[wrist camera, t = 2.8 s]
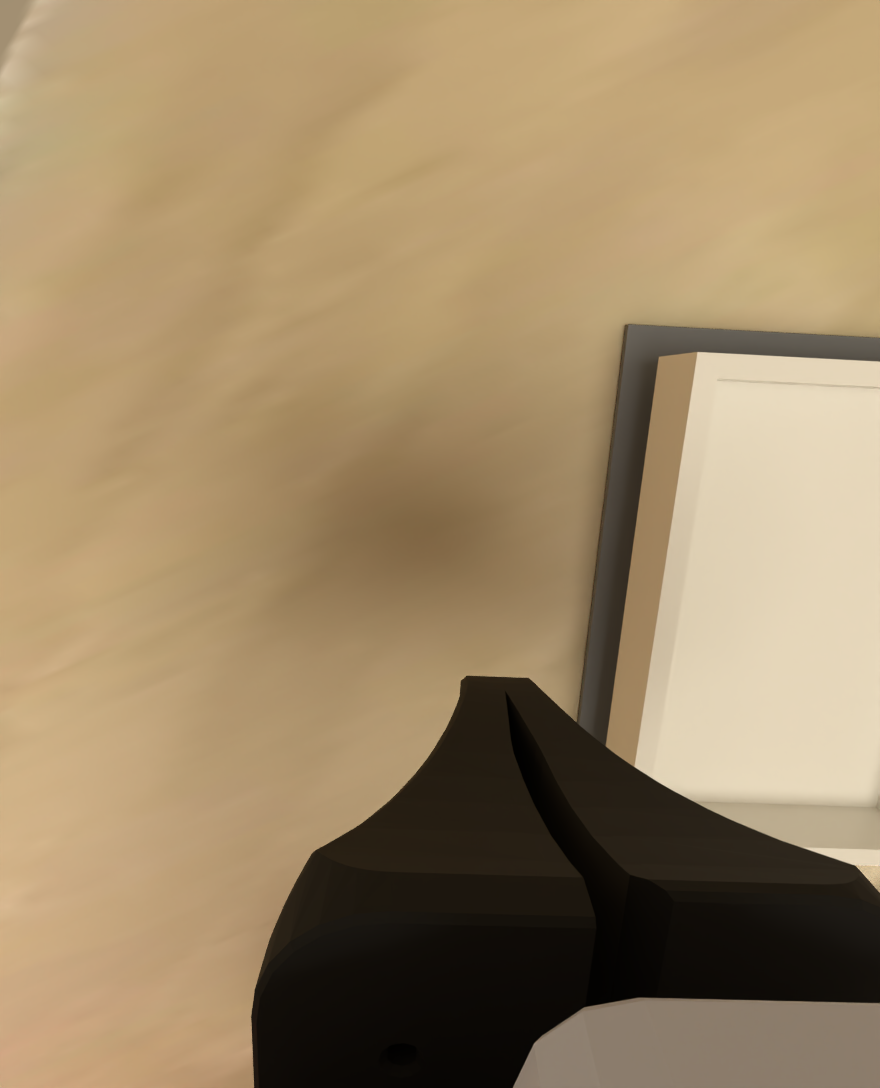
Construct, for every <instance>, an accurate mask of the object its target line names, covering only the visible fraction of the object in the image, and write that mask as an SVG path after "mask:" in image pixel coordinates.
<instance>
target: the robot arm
mask: <svg viewBox="0 0 880 1088" xmlns="http://www.w3.org/2000/svg"><path fill="white" fill-rule="evenodd" d="M251 1020H252V1043H253V1067H254V1088H880V893H879V892H878V891H877V889H876V888H875V887H874V886H873V885H872V884H871V883H870V881H869V880H868V879H867V878H866V877H865V876H864V875H863V874H862V873H861V871H860V870H859V869H858V868H857V867H856V866H855V865H852V864H849V863H846V862H843V861H840V860H837V859H834V858H831V857H828V856H825V855H822V854H819V853H816V852H814V851H811V850H808V849H805V848H802V847H799V846H796V845H793V844H790V843H787V842H784V841H781V840H779V839H776V838H773V837H771V836H769V835H766V834H764V833H761V832H759V831H757V830H754V829H752V828H749V827H747V826H745V825H742V824H740V823H737V822H735V821H733V820H731V819H728V818H726V817H724V816H722V815H720V814H718V813H715V812H713V811H711V810H709V809H707V808H705V807H703V806H701V805H699V804H698V803H696V802H694V801H692V800H690V799H688V798H686V797H684V796H682V795H680V794H678V793H676V792H675V791H673V790H671V789H669V788H668V787H666V786H664V785H662V784H661V783H659V782H657V781H656V780H654V779H653V778H651V777H649V776H648V775H646V774H645V773H643V772H642V771H640V770H638V769H637V768H635V767H634V766H632V765H631V764H629V763H628V762H626V761H625V760H623V759H622V758H621V757H619V756H618V755H616V754H615V753H614V752H612V751H611V750H610V749H609V748H607V747H606V746H605V745H603V744H602V743H601V742H599V741H598V740H597V739H596V738H594V737H593V736H592V735H591V734H589V733H588V732H587V731H586V730H585V729H583V728H582V727H581V726H580V725H579V724H578V723H577V722H575V721H574V720H573V719H572V718H571V717H570V716H569V715H568V714H566V713H565V712H564V711H563V710H562V709H561V708H560V707H559V706H558V705H557V704H556V703H555V702H554V701H553V700H551V699H550V698H549V697H548V696H547V695H546V694H545V693H544V692H543V691H542V690H541V689H540V688H539V687H538V686H537V685H536V684H535V683H534V682H532V681H531V680H530V679H529V678H511V677H485V676H466V677H465V678H464V679H463V680H461V688H460V697H459V700H458V703H457V706H456V708H455V711H454V713H453V715H452V717H451V720H450V722H449V724H448V726H447V728H446V730H445V731H444V733H443V735H442V736H441V738H440V740H439V741H438V743H437V745H436V746H435V748H434V750H433V751H432V752H431V754H430V755H429V757H428V758H427V760H426V761H425V762H424V764H423V765H422V766H421V767H420V769H419V770H418V771H417V772H416V774H415V775H414V776H413V777H412V778H411V779H410V780H409V781H408V782H407V784H406V785H405V786H404V787H403V788H402V789H401V790H400V791H399V792H398V793H397V794H396V795H395V796H394V797H393V798H392V799H391V800H390V801H389V802H388V803H387V804H385V805H384V806H383V807H382V808H380V809H379V810H378V811H377V812H375V813H374V814H373V815H372V816H371V817H369V818H368V819H367V820H366V821H364V822H363V823H362V824H360V825H359V826H357V827H356V828H354V829H352V830H351V831H349V832H347V833H345V834H344V835H342V836H340V837H339V838H337V839H335V840H334V841H332V842H330V843H328V844H327V845H325V846H323V847H321V848H319V849H317V850H316V851H314V852H313V853H312V854H311V856H310V858H309V860H308V861H307V863H306V865H305V866H304V868H303V870H302V872H301V874H300V875H299V877H298V879H297V881H296V883H295V885H294V887H293V889H292V891H291V893H290V895H289V897H288V899H287V901H286V903H285V905H284V907H283V909H282V912H281V914H280V916H279V919H278V921H277V923H276V925H275V928H274V930H273V933H272V935H271V938H270V941H269V944H268V947H267V950H266V953H265V957H264V960H263V964H262V967H261V970H260V974H259V977H258V981H257V984H256V988H255V993H254V1001H253V1008H252V1016H251Z"/></svg>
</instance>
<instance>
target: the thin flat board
mask: <svg viewBox="0 0 880 1088" xmlns="http://www.w3.org/2000/svg"><path fill="white" fill-rule="evenodd" d="M693 352H707V353H726V354H745V355H764V356H783V357H801V358H820V359H839V360H858V361H877V362H880V338H870V337H852V336H833V335H815V334H796V333H778V332H759V331H741V330H723V329H704V328H686V327H667V326H649V325H631V324H628V325H625V334H624V342H623V350H622V358H621V367H620V375H619V383H618V391H617V400H616V408H615V416H614V424H613V433H612V441H611V449H610V457H609V466H608V474H607V482H606V490H605V499H604V507H603V515H602V523H601V531H600V540H599V548H598V556H597V564H596V573H595V581H594V589H593V597H592V606H591V614H590V622H589V630H588V639H587V647H586V655H585V663H584V672H583V680H582V688H581V696H580V705H579V713H578V721H577V723H578V724H579V725H580V726H581V727H582V728H583V729H585V730H586V731H587V732H588V733H589V734H591V735H592V736H593V737H594V738H596V739H597V740H598V741H599V742H601V743H602V744H603V745H605V746H606V741H607V733H608V726H609V719H610V711H611V704H612V697H613V689H614V682H615V675H616V667H617V660H618V653H619V645H620V638H621V631H622V623H623V616H624V609H625V601H626V594H627V587H628V579H629V572H630V565H631V557H632V550H633V543H634V535H635V528H636V521H637V513H638V506H639V499H640V491H641V484H642V477H643V470H644V462H645V455H646V448H647V440H648V433H649V426H650V418H651V411H652V404H653V396H654V389H655V382H656V374H657V367H658V360H659V357H661V356H669V355H677V354H685V353H693Z"/></svg>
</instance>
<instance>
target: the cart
mask: <svg viewBox="0 0 880 1088" xmlns="http://www.w3.org/2000/svg"><path fill="white" fill-rule="evenodd" d="M606 747H607V748H609V749H610V750H611V751H612V752H614V753H615V754H616V755H618V756H619V757H621V758H622V759H623V760H625V761H626V762H628V763H629V764H631V765H632V766H634V767H635V768H637V769H638V770H640V771H642V772H643V773H645V774H646V775H648V776H649V777H651V778H653V779H654V780H656V781H657V782H659V783H661V784H662V785H664V786H666V787H668V788H669V789H671V790H673V791H675V792H676V793H678V794H680V795H682V796H684V797H686V798H688V799H690V800H692V801H694V802H696V803H698V804H699V805H701V806H703V807H705V808H707V809H709V810H711V811H713V812H715V813H718V814H720V815H722V816H724V817H726V818H728V819H731V820H733V821H735V822H737V823H740V824H742V825H745V826H747V827H749V828H752V829H754V830H757V831H759V832H761V833H764V834H766V835H769V836H771V837H773V838H776V839H779V840H781V841H784V842H787V843H790V844H793V845H796V846H799V847H802V848H805V849H808V850H811V851H814V852H816V853H819V854H822V855H825V856H828V857H831V858H834V859H837V860H840V861H843V862H846V863H849V864H852V865H865V866H880V362H877V361H858V360H839V359H820V358H801V357H783V356H764V355H745V354H726V353H707V352H693V353H685V354H677V355H669V356H661V357H659V360H658V367H657V374H656V382H655V389H654V396H653V404H652V411H651V418H650V426H649V433H648V440H647V448H646V455H645V462H644V470H643V477H642V484H641V491H640V499H639V506H638V513H637V521H636V528H635V535H634V543H633V550H632V557H631V565H630V572H629V579H628V587H627V594H626V601H625V609H624V616H623V623H622V631H621V638H620V645H619V653H618V660H617V667H616V675H615V682H614V689H613V697H612V704H611V711H610V719H609V726H608V733H607V741H606Z"/></svg>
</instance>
